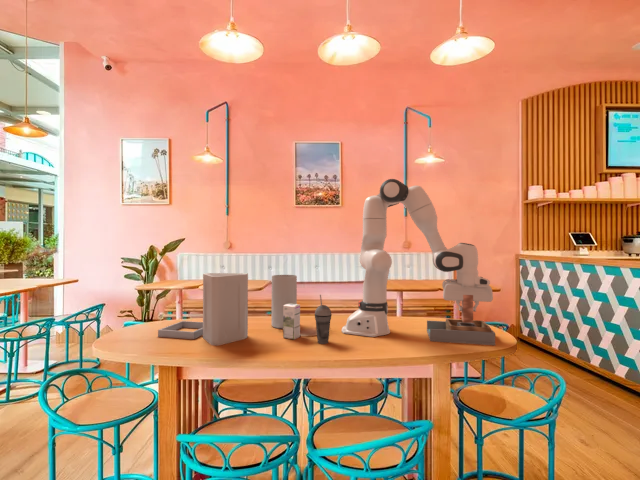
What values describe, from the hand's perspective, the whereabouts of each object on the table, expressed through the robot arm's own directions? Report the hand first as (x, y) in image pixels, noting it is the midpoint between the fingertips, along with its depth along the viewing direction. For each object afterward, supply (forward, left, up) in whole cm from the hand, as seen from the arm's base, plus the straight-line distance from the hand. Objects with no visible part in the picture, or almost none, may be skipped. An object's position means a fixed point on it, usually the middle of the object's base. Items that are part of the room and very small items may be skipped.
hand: (467, 311), depth 152 cm
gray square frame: (-125, -21, -12) cm, 127 cm away
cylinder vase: (-86, +2, -12) cm, 87 cm away
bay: (-4, 0, -12) cm, 12 cm away
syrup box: (-76, -17, -12) cm, 78 cm away
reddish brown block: (0, 0, -5) cm, 5 cm away
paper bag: (-104, -28, -12) cm, 108 cm away
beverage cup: (-61, -21, -12) cm, 65 cm away
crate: (0, 0, -11) cm, 11 cm away
